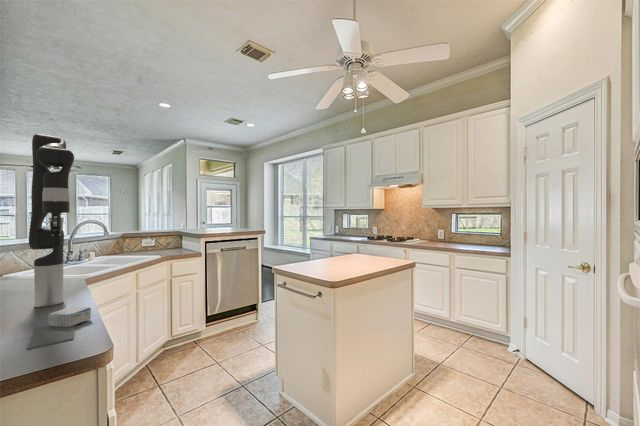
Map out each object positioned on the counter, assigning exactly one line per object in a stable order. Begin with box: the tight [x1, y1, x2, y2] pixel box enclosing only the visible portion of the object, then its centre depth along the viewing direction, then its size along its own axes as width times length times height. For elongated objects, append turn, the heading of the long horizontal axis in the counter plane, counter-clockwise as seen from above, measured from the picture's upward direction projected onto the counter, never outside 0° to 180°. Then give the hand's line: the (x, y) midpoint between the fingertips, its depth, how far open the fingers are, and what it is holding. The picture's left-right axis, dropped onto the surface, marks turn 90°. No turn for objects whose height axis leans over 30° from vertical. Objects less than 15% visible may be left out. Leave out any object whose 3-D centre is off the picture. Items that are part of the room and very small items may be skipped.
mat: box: [26, 324, 76, 351], centre depth 91 cm, size 20×10×1 cm, turn 40°
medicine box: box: [48, 305, 92, 327], centre depth 100 cm, size 8×4×9 cm
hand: (56, 245), depth 107 cm, fingers closed
